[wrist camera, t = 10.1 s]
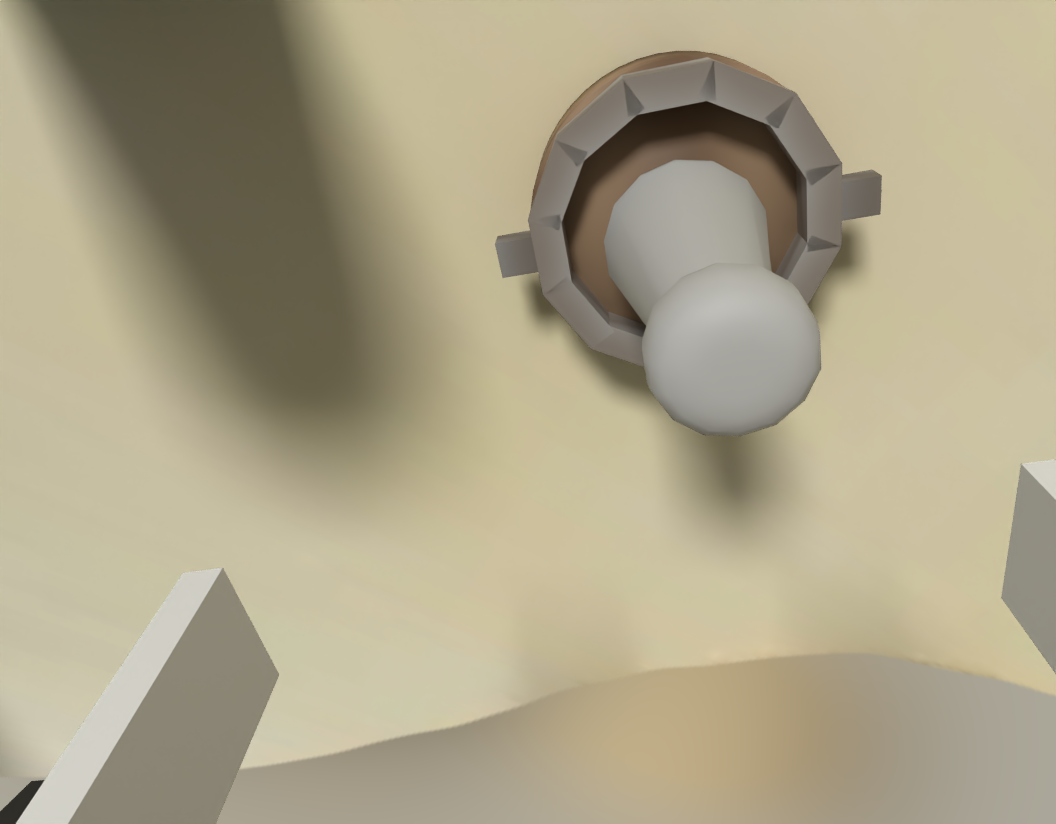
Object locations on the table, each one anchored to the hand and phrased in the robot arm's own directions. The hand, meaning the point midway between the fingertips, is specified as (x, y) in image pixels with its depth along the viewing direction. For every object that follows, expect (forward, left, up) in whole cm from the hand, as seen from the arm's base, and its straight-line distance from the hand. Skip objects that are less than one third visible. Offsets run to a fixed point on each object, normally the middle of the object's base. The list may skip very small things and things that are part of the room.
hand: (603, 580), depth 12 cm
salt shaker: (+3, 0, -19) cm, 20 cm away
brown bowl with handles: (+3, 0, -22) cm, 23 cm away
